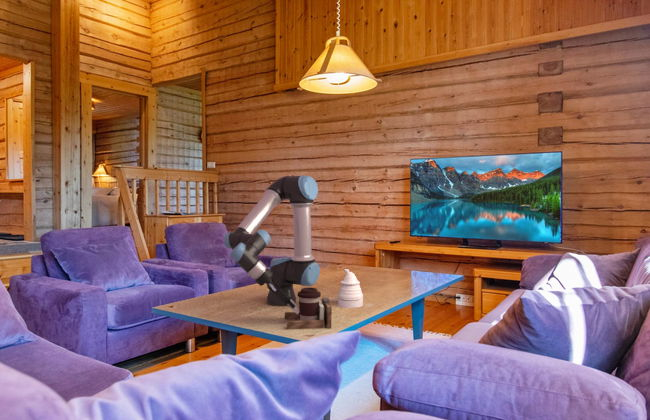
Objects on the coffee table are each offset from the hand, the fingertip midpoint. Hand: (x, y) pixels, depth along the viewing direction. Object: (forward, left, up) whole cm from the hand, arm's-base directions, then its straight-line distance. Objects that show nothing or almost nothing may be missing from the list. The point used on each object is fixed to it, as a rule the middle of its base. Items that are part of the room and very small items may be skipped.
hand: (299, 311), depth 199 cm
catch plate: (+7, +5, -5) cm, 10 cm away
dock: (+3, +2, -5) cm, 6 cm away
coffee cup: (+4, +2, -5) cm, 7 cm away
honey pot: (+6, +42, -5) cm, 43 cm away
